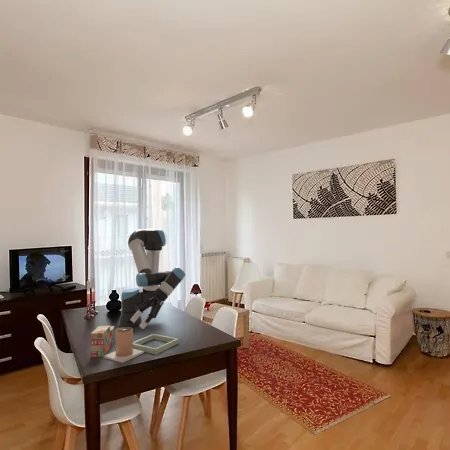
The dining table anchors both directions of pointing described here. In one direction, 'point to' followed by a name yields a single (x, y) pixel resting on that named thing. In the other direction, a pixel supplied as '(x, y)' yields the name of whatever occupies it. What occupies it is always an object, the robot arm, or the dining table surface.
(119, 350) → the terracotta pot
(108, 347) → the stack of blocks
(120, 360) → the ceramic tile
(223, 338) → the dining table surface
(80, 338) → the dining table surface
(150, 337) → the frame
